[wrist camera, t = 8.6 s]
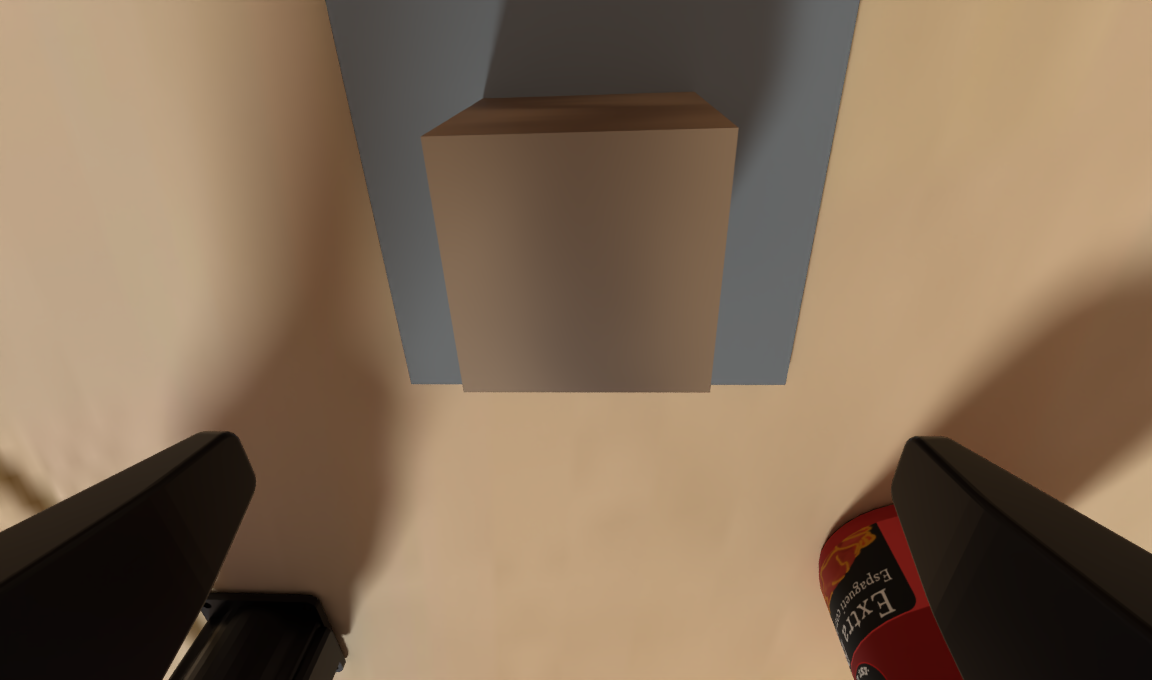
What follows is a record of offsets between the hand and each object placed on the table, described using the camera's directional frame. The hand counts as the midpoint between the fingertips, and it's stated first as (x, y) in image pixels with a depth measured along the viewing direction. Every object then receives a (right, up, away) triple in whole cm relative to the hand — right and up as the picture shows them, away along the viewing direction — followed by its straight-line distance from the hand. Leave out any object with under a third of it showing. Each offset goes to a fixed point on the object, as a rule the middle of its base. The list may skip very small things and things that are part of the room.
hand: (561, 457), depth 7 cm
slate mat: (+1, +6, +10) cm, 12 cm away
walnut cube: (+1, +6, +10) cm, 11 cm away
